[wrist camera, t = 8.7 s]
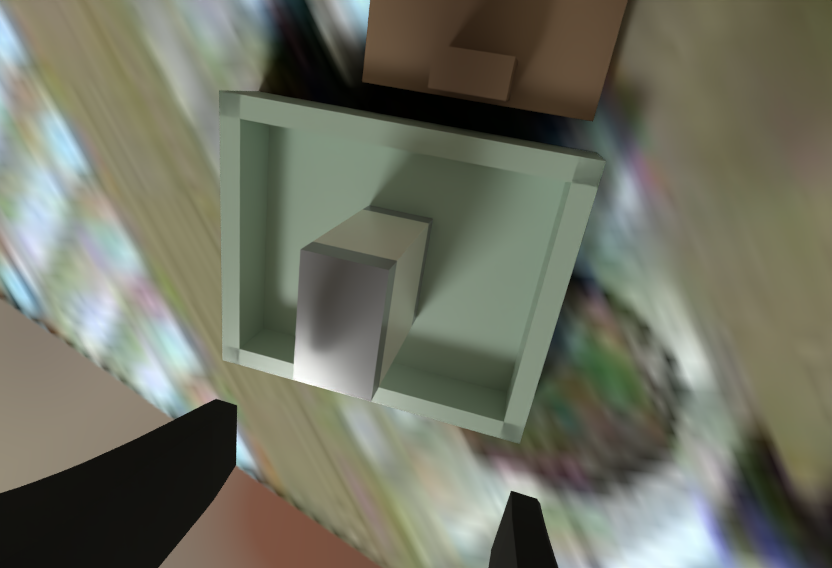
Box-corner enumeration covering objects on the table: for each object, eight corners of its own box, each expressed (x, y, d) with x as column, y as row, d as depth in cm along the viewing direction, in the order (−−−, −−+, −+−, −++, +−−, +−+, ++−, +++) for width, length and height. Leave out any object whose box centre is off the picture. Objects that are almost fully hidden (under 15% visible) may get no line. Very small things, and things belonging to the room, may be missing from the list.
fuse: (433, 218, 18) (388, 270, 13) (416, 318, 20) (371, 401, 15) (369, 204, 19) (300, 249, 13) (358, 304, 20) (293, 379, 15)
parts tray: (596, 152, 17) (606, 161, 14) (521, 406, 21) (519, 443, 19) (257, 91, 19) (219, 90, 16) (253, 334, 23) (222, 359, 21)
